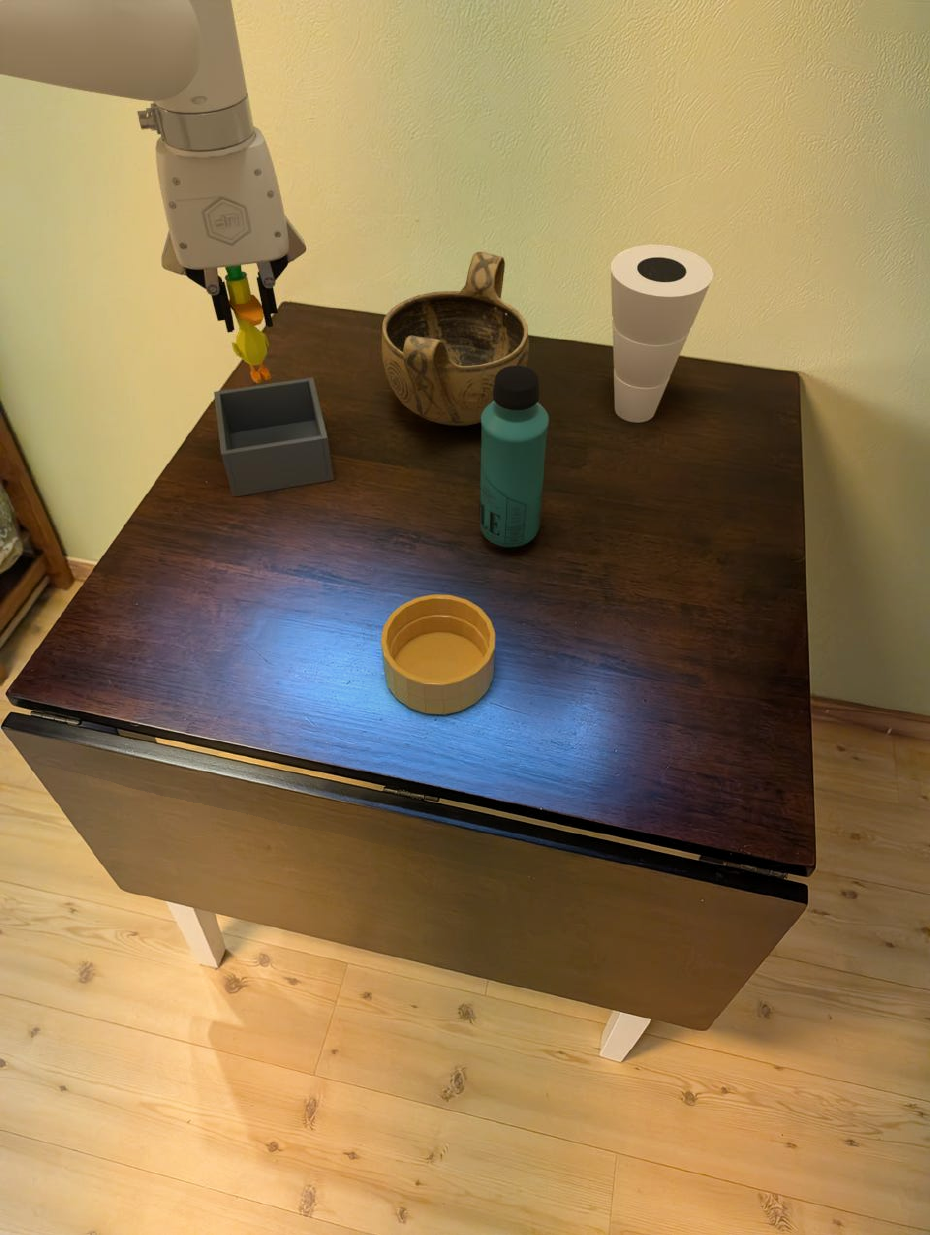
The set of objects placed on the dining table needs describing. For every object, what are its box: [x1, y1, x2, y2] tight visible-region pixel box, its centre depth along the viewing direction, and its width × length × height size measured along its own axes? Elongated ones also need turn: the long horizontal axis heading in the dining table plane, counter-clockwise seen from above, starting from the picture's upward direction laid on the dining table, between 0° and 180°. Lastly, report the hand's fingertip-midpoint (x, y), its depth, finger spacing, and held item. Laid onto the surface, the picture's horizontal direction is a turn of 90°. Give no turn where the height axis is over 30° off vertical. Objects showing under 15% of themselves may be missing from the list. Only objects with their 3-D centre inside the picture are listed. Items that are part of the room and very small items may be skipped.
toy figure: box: [224, 265, 272, 384], centre depth 84 cm, size 7×4×12 cm, turn 33°
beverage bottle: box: [478, 366, 550, 548], centre depth 81 cm, size 6×7×20 cm
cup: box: [610, 244, 714, 423], centre depth 96 cm, size 11×11×18 cm
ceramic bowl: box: [381, 251, 530, 427], centre depth 97 cm, size 22×17×15 cm
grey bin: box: [213, 377, 335, 498], centre depth 95 cm, size 11×11×6 cm
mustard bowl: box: [380, 593, 496, 715], centre depth 76 cm, size 10×10×5 cm
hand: (249, 320), depth 84 cm, fingers closed on toy figure, 3 cm apart
